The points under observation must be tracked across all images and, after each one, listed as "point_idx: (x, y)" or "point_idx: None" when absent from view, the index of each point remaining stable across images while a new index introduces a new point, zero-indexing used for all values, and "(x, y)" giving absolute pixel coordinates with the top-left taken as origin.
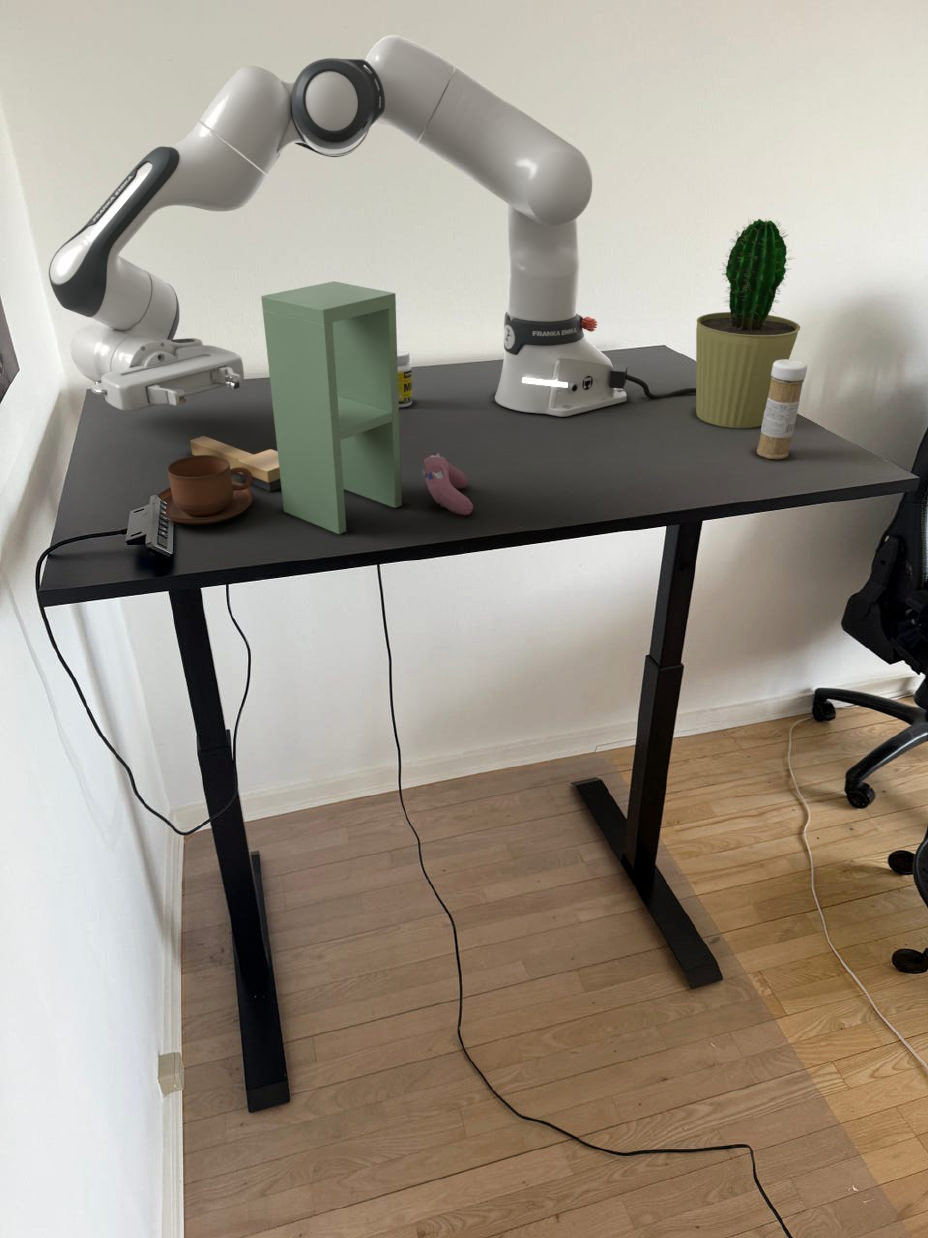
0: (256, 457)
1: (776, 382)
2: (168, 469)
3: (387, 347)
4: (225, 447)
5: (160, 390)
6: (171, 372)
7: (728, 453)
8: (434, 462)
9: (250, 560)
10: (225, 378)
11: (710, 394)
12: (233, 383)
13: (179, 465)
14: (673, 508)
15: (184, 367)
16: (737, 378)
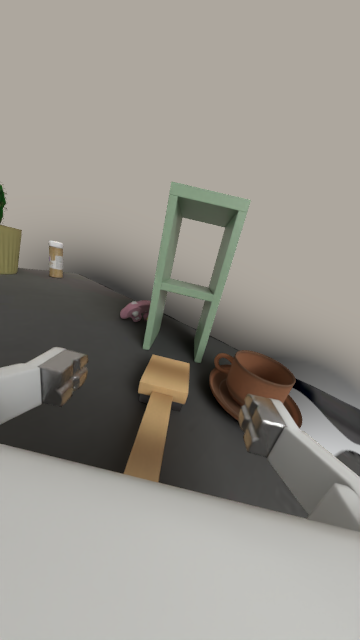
0: (169, 382)
1: (59, 249)
2: (294, 380)
3: (177, 241)
4: (141, 460)
5: (326, 451)
6: (252, 557)
7: (54, 279)
8: (149, 301)
9: None
10: (61, 381)
11: (4, 259)
12: (82, 368)
13: (277, 389)
14: (116, 292)
15: (51, 604)
16: (16, 250)
